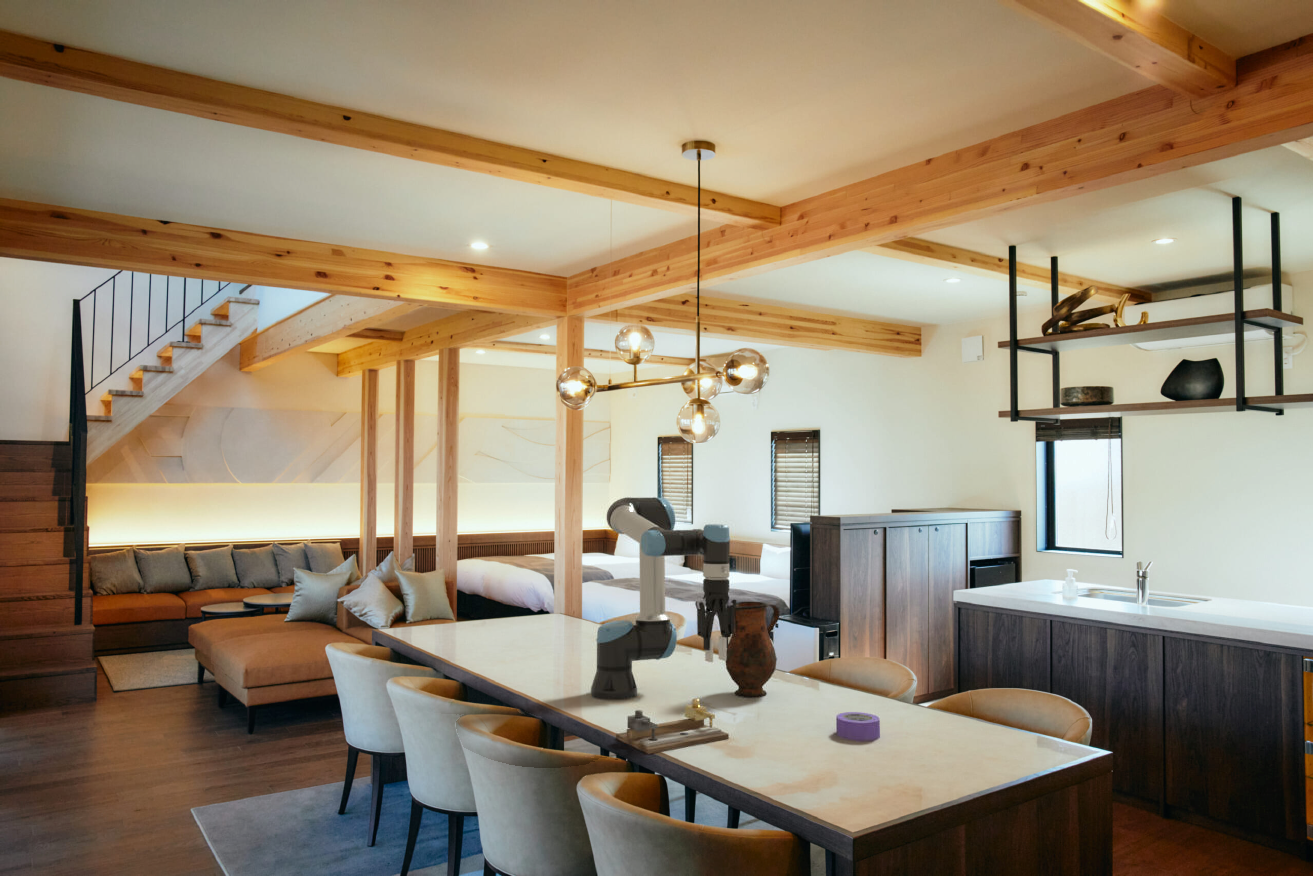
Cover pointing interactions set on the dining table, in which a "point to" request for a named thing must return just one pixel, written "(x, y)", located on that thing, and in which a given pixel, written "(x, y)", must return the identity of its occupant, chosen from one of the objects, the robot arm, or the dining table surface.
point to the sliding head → (698, 712)
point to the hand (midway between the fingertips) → (715, 660)
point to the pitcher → (751, 649)
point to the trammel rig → (667, 734)
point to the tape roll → (858, 726)
